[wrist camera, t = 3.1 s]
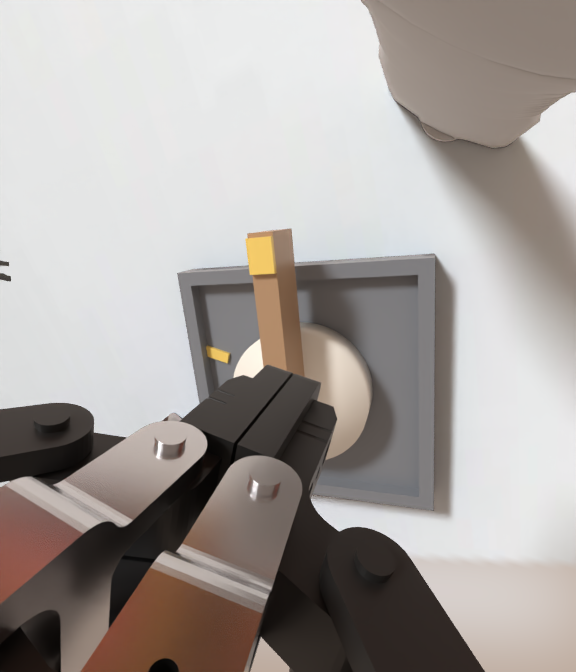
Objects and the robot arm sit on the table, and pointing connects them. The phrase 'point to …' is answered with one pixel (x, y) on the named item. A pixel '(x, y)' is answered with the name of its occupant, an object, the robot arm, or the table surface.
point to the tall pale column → (477, 63)
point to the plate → (370, 340)
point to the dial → (303, 340)
